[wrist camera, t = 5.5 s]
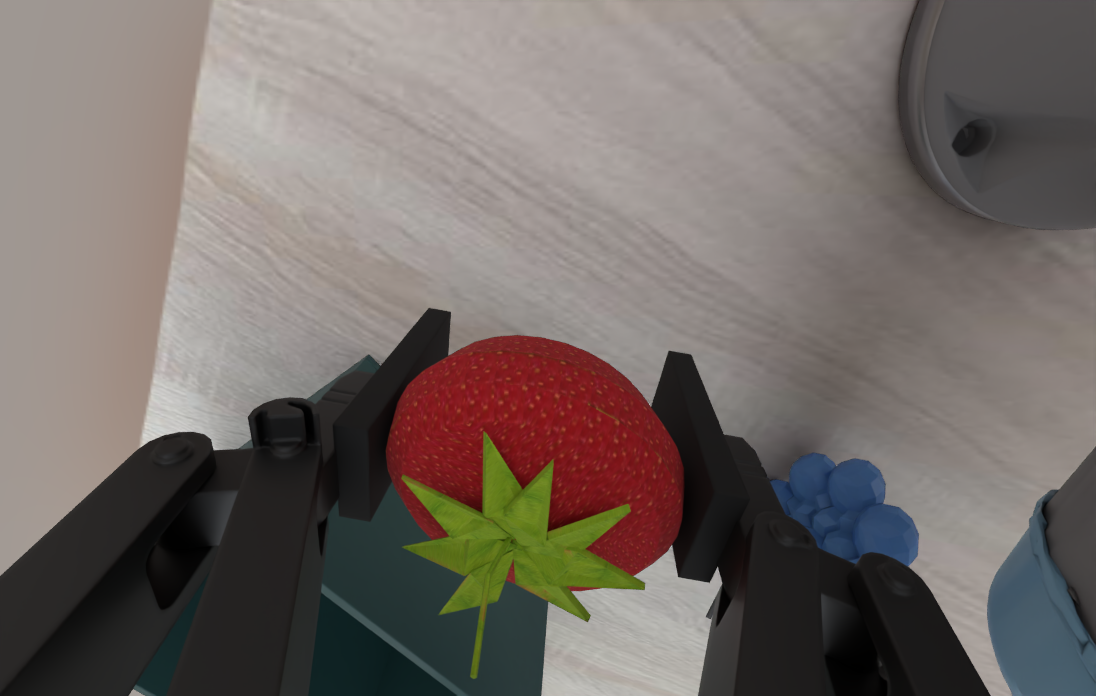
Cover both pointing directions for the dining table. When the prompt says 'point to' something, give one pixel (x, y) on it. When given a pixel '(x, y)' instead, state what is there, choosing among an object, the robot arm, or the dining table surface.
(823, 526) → the blue knobby cluster
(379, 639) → the carton
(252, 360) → the dining table surface
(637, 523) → the strawberry
